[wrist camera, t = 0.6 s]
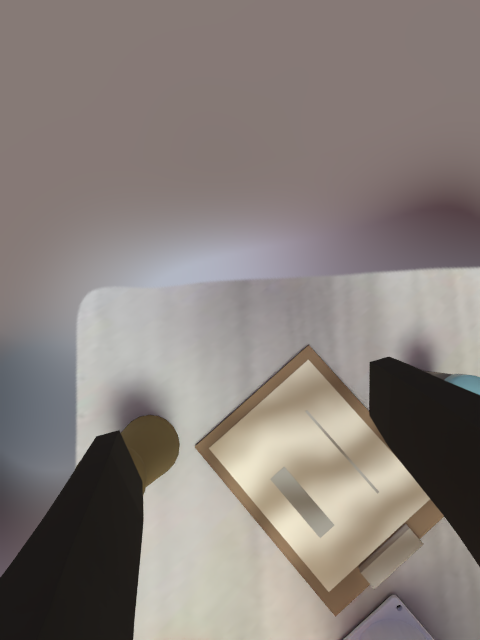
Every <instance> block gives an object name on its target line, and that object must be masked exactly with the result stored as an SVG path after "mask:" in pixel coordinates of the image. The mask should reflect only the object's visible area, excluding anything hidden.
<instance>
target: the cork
mask: <svg viewBox="0 0 480 640" xmlns="http://www.w3.org/2000/svg"><path fill="white" fill-rule="evenodd" d="M121 435H122V437H123V439H124V442H125V444H126V446H127V448H128V450H129V453H130V455H131V457H132V459H133V461H134V464H135V466H136V468H137V470H138V473H139V475H140V477H141V479H142V482H143V494H144V492H145V488H146V487H147V486H148V485H149V484H151V483H152V482H153V481H155V480H156V479H157V478H159V477H160V476H161V475H163V474H164V473H165V472H167V471H168V470H169V469H170V468H171V467H172V466H173V464H174V463H175V461H176V459H177V456H178V454H179V445H180V444H179V439H178V435H177V433H176V431H175V429H174V427H173V426H172V425H171V424H170V423H169V422H168V421H167V420H165V419H163V418H161V417H159V416H154V415H146V416H141V417H138V418H137V419H135V420H133V421H131V423H130V424H129V425H128V426H127V427H126V428H125V429H124V430H123V431H122V432H121ZM79 463H80V462H79ZM79 463H78V464H79ZM77 466H78V465H77ZM77 466H76V467H77Z"/></svg>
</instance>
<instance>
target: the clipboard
mask: <svg viewBox="0 0 480 640" xmlns="http://www.w3.org/2000/svg"><path fill="white" fill-rule="evenodd" d="M195 448H196V449H197V450H198V452H199V453H200V454H201V455H202V456H203V458H204V459H205V460H206V461H207V462H208V464H209V465H210V466H211V467H212V468H213V470H214V471H215V472H216V473H217V474H218V476H219V477H220V478H221V479H222V480H223V482H224V483H225V484H226V485H227V487H228V488H229V489H230V490H231V491H232V493H233V494H234V495H235V496H236V497H237V499H238V500H239V501H240V502H241V503H242V505H243V506H244V507H245V508H246V509H247V511H248V512H249V513H250V514H251V515H252V517H253V518H254V519H255V520H256V521H257V523H258V524H259V525H260V526H261V527H262V529H263V530H264V531H265V532H266V534H267V535H268V536H269V537H270V538H271V540H272V541H273V542H274V543H275V544H276V546H277V547H278V548H279V549H280V550H281V552H282V553H283V554H284V555H285V556H286V558H287V559H288V560H289V561H290V562H291V564H292V565H293V566H294V567H295V568H296V570H297V571H298V572H299V573H300V574H301V576H302V577H303V578H304V579H305V581H306V582H307V583H308V584H309V585H310V587H311V588H312V589H313V590H314V591H315V593H316V594H317V595H318V596H319V597H320V599H321V600H322V601H323V602H324V603H325V605H326V606H327V607H328V608H329V609H330V611H331V612H332V613H333V614H334V615H335V617H336V616H337V615H338V614H339V613H340V612H341V611H342V610H343V609H344V608H345V607H346V606H347V605H349V604H350V603H351V602H352V601H353V600H354V599H355V598H356V597H357V596H358V595H359V594H360V593H362V592H363V591H364V590H365V589H366V588H367V587H368V586H369V585H371V586H372V587H373V588H374V589H376V588H377V587H378V586H379V585H380V584H381V583H382V582H383V581H384V580H385V579H386V578H388V577H389V576H390V575H391V574H392V573H393V572H394V571H395V570H396V569H397V568H398V567H399V566H401V565H402V564H403V563H404V562H405V561H406V560H407V559H408V558H409V557H410V556H411V555H412V554H414V553H415V552H416V551H417V550H418V549H419V548H420V547H421V546H422V545H423V543H422V542H421V541H420V538H421V537H422V536H423V535H425V534H426V533H427V532H428V531H429V530H430V529H431V528H432V527H433V526H434V525H435V524H436V523H438V522H439V521H440V520H441V519H442V518H443V517H444V515H443V514H442V513H441V512H440V511H439V509H438V508H437V507H436V506H435V504H434V503H433V502H432V501H431V499H430V498H429V497H428V496H427V494H426V493H425V492H424V491H423V489H422V488H421V487H420V486H419V484H418V483H417V482H416V481H415V479H414V478H413V477H412V476H411V474H410V473H409V472H408V471H407V469H406V468H405V467H404V466H403V464H402V463H401V462H400V461H399V459H398V458H397V457H396V456H395V454H394V453H393V452H392V450H391V449H390V448H389V447H388V445H387V443H386V442H385V440H384V439H383V437H382V436H381V434H380V432H379V431H378V429H377V427H376V426H375V424H374V422H373V421H372V419H371V417H370V416H369V411H368V410H367V409H366V408H365V407H364V406H363V404H362V403H361V402H360V401H359V400H358V399H357V398H356V397H355V396H354V394H353V393H352V392H351V391H350V390H349V389H348V388H347V387H346V386H345V385H344V383H343V382H342V381H341V380H340V379H339V378H338V377H337V376H336V375H335V373H334V372H333V371H332V370H331V369H330V368H329V367H328V366H327V365H326V364H325V362H324V361H323V360H322V359H321V358H320V357H319V356H318V355H317V354H316V352H315V351H314V350H313V349H312V348H311V347H310V346H309V345H308V346H307V347H306V348H305V349H303V350H302V351H301V352H300V353H299V354H298V355H297V356H296V357H295V358H293V359H292V360H291V361H290V362H289V363H288V364H287V365H286V366H284V367H283V368H282V369H281V370H280V371H279V372H278V373H277V374H275V375H274V376H273V377H272V378H271V379H270V380H269V381H268V382H266V383H265V384H264V385H263V386H262V387H261V388H260V389H259V390H258V391H256V392H255V393H254V394H253V395H252V396H251V397H250V398H249V399H247V400H246V401H245V402H244V403H243V404H242V405H241V406H240V407H238V408H237V409H236V410H235V411H234V412H233V413H232V414H231V415H229V416H228V417H227V418H226V419H225V420H224V421H223V422H222V423H220V424H219V425H218V426H217V427H216V428H215V429H214V430H213V431H212V432H210V433H209V434H208V435H207V436H206V437H205V438H204V439H203V440H201V441H200V442H199V443H198V444H197V445H196V446H195Z"/></svg>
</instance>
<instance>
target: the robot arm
mask: <svg viewBox="0 0 480 640" xmlns="http://www.w3.org/2000/svg"><path fill="white" fill-rule="evenodd" d="M369 416H370V417H371V419H372V421H373V422H374V424H375V426H376V427H377V429H378V431H379V432H380V434H381V436H382V437H383V439H384V440H385V442H386V443H387V445H388V447H389V448H390V449H391V450H392V452H393V453H394V454H395V456H396V457H397V458H398V459H399V461H400V462H401V463H402V464H403V466H404V467H405V468H406V469H407V471H408V472H409V473H410V474H411V476H412V477H413V478H414V479H415V481H416V482H417V483H418V484H419V486H420V487H421V488H422V489H423V491H424V492H425V493H426V494H427V496H428V497H429V498H430V499H431V501H432V502H433V503H434V504H435V506H436V507H437V508H438V509H439V511H440V512H441V513H442V514H443V515H444V517H445V518H446V519H447V521H448V522H449V523H450V525H451V526H452V527H453V529H454V530H455V531H456V533H457V534H458V535H459V537H460V538H461V540H462V541H463V543H464V544H465V546H466V547H467V549H468V550H469V552H470V553H471V555H472V556H473V558H474V559H475V561H476V562H477V564H478V565H479V566H480V395H479V394H476V393H474V392H471V391H469V390H466V389H464V388H462V387H459V386H457V385H454V384H452V383H450V382H448V381H445V380H443V379H441V378H438V377H436V376H434V375H431V374H429V373H427V372H425V371H422V370H420V369H418V368H415V367H413V366H411V365H408V364H406V363H404V362H401V361H399V360H396V359H394V358H391V357H387V358H383V359H379V360H376V361H372V362H370V393H369ZM142 531H143V482H142V479H141V477H140V475H139V473H138V470H137V468H136V466H135V464H134V461H133V459H132V457H131V455H130V453H129V450H128V448H127V446H126V444H125V442H124V439H123V437H122V435H121V433H120V431H115V432H111V433H108V434H104V435H100V436H97V437H96V438H95V439H94V441H93V443H92V444H91V446H90V447H89V449H88V450H87V452H86V453H85V455H84V456H83V458H82V460H81V461H80V463H79V464H78V466H77V467H76V469H75V471H74V472H73V474H72V475H71V477H70V479H69V480H68V482H67V483H66V485H65V486H64V488H63V489H62V491H61V492H60V494H59V495H58V497H57V498H56V500H55V501H54V503H53V505H52V506H51V507H50V509H49V511H48V512H47V514H46V515H45V517H44V518H43V519H42V521H41V522H40V524H39V525H38V527H37V528H36V529H35V531H34V532H33V534H32V535H31V537H30V538H29V539H28V541H27V542H26V543H25V545H24V546H23V548H22V549H21V551H20V552H19V553H18V555H17V556H16V558H15V559H14V560H13V562H12V563H11V564H10V566H9V567H8V568H7V570H6V571H5V573H4V574H3V575H2V576H1V577H0V640H133V633H134V618H135V607H136V597H137V586H138V575H139V565H140V554H141V543H142ZM398 605H400V607H399V608H396V607H397V606H398ZM343 640H434V638H433V637H432V636H431V635H430V634H429V633H428V631H427V630H426V629H425V628H424V627H423V626H422V624H421V623H420V622H419V621H418V620H417V619H416V617H415V616H414V615H413V614H412V613H411V612H410V610H409V609H408V608H407V607H406V606H405V605H404V603H403V602H402V601H401V600H400V599H399V598H398V597H397V596H396V595H391V596H390V597H389V598H388V599H387V600H386V601H384V602H383V603H382V604H381V605H380V606H379V607H378V608H377V609H376V610H375V611H374V612H373V613H371V614H370V615H369V616H368V617H367V618H366V619H365V620H364V621H363V622H362V623H361V624H360V625H358V626H357V627H356V628H355V629H354V630H353V631H352V632H351V633H350V634H349V635H348V636H347V637H346V638H344V639H343Z"/></svg>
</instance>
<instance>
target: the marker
mask: <svg viewBox="0 0 480 640" xmlns="http://www.w3.org/2000/svg"><path fill="white" fill-rule="evenodd" d="M425 372H427V373H429V374H431V375H434V376H436V377H438V378H441V379H443V380H445V381H448V382H450V383H452V384H454V385H457V386H459V387H462V388H464V389H466V390H469V391H471V392H474V393H476V394H479V395H480V377H477V376H472V375H464V374H445V373H437V372H429V371H425Z"/></svg>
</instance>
